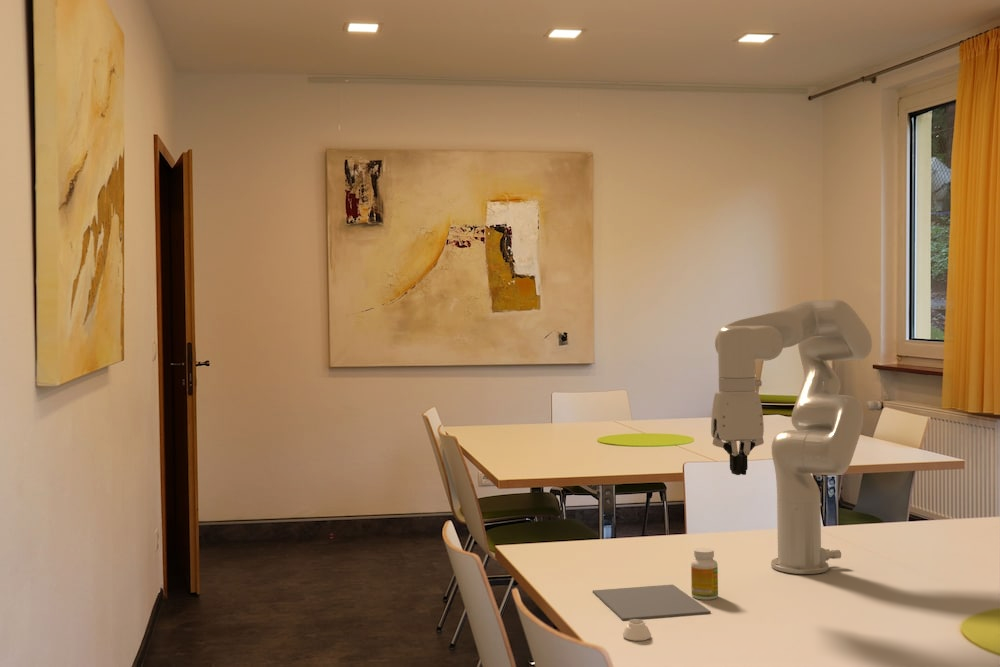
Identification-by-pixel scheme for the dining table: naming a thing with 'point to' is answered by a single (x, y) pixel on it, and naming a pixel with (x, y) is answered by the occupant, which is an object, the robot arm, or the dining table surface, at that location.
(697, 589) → the supplement bottle
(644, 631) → the lidless jar
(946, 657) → the dining table surface
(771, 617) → the dining table surface
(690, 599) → the felt mat
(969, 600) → the dining table surface
